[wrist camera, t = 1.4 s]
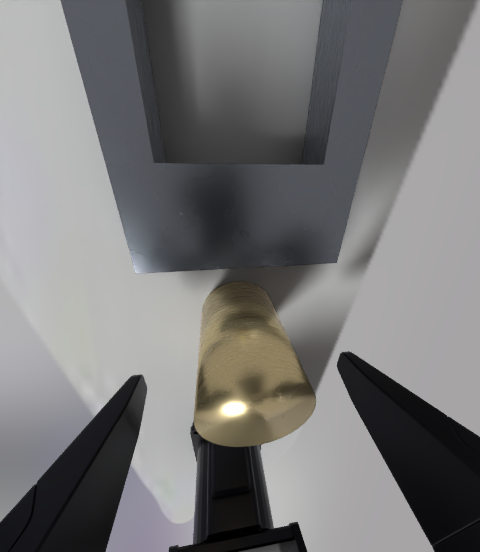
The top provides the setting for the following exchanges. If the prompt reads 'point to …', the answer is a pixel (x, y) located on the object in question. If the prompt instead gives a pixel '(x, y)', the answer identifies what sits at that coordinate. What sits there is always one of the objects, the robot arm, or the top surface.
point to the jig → (232, 177)
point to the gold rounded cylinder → (247, 371)
